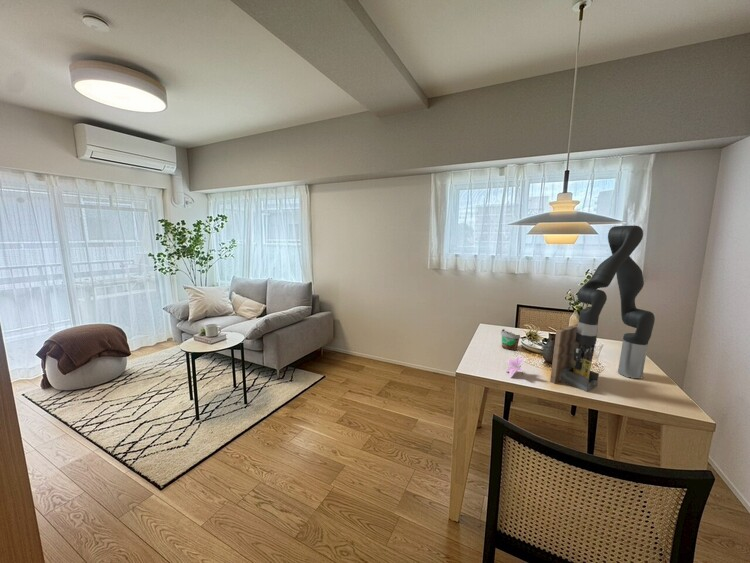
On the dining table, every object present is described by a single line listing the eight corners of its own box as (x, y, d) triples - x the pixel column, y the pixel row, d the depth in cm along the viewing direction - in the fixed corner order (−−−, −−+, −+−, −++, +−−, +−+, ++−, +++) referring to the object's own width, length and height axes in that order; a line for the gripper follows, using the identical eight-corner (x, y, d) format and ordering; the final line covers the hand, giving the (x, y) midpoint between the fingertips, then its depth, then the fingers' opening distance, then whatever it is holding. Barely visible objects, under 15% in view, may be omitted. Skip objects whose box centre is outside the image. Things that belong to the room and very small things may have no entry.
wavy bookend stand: (572, 372, 150) (578, 324, 145) (602, 383, 139) (609, 331, 135) (550, 381, 139) (556, 330, 135) (580, 394, 128) (588, 339, 124)
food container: (494, 345, 184) (496, 329, 182) (502, 344, 186) (503, 328, 184) (511, 352, 173) (513, 336, 171) (519, 351, 175) (520, 335, 173)
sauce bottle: (570, 380, 138) (575, 339, 134) (573, 376, 142) (578, 336, 139) (587, 386, 133) (593, 343, 130) (590, 381, 137) (596, 340, 134)
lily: (507, 368, 155) (501, 354, 152) (532, 365, 148) (525, 350, 146) (507, 385, 145) (500, 370, 142) (534, 382, 139) (526, 366, 136)
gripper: (585, 327, 141) (580, 361, 143) (569, 332, 133) (565, 367, 136) (603, 332, 134) (598, 367, 137) (588, 337, 127) (583, 374, 130)
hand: (581, 367), depth 136 cm, fingers closed on sauce bottle, 6 cm apart
